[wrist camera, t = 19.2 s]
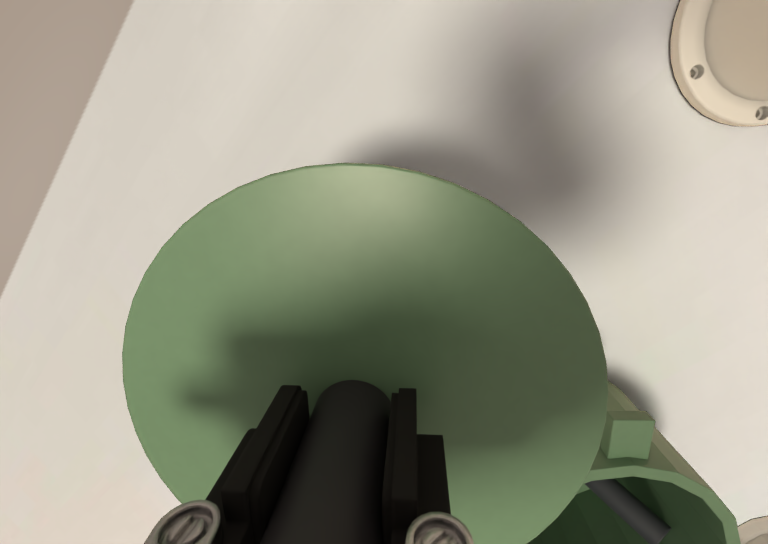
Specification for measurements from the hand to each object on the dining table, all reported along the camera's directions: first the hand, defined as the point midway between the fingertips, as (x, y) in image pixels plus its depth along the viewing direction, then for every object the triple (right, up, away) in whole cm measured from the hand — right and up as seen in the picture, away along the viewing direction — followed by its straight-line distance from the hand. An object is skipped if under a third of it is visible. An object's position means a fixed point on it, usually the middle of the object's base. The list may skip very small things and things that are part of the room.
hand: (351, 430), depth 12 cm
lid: (0, 0, +1) cm, 1 cm away
